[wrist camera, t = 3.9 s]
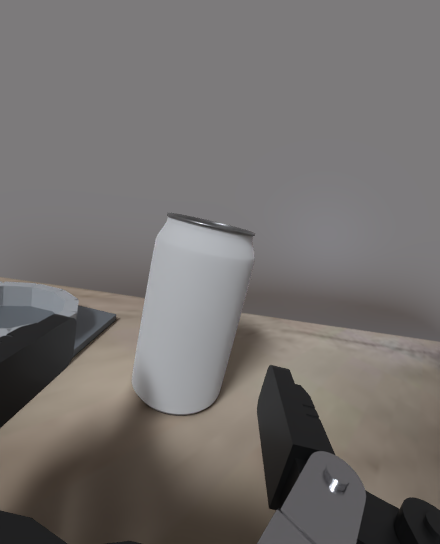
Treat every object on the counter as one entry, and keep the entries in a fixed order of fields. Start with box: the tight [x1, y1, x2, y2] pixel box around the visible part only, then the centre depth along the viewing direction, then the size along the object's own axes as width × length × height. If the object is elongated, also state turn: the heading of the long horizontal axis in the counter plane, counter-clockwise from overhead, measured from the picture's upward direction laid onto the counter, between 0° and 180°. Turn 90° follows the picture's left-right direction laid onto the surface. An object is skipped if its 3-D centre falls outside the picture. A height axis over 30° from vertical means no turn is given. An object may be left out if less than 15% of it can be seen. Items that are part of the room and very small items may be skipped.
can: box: [132, 213, 255, 416], centre depth 17 cm, size 6×6×12 cm
